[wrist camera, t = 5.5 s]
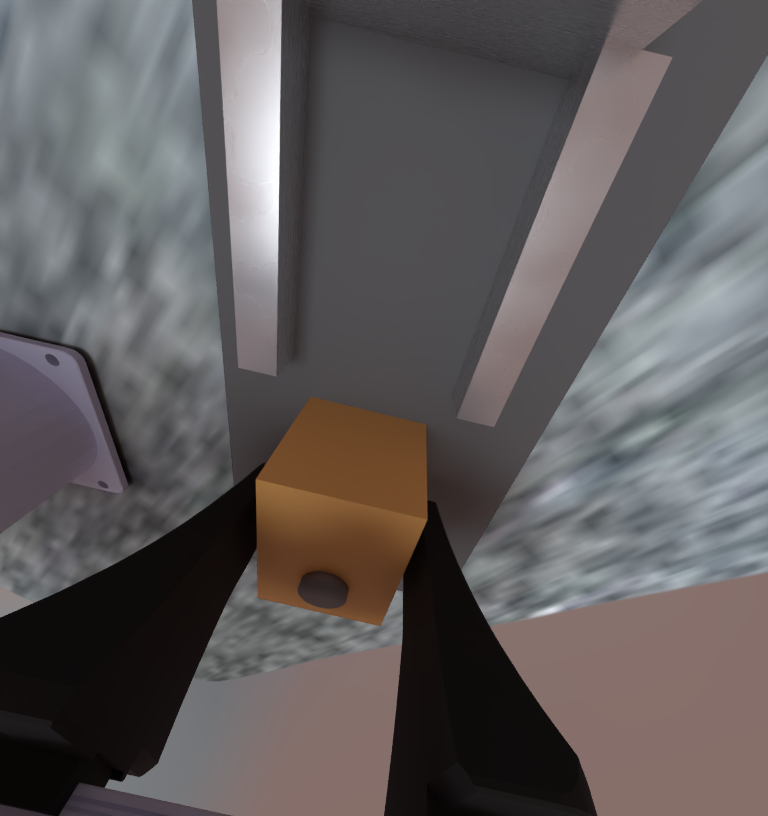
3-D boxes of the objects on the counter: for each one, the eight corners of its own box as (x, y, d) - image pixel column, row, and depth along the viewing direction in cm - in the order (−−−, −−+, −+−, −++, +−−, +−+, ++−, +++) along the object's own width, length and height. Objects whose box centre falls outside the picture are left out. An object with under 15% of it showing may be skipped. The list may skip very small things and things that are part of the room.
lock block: (300, 502, 15) (254, 606, 11) (310, 396, 11) (250, 487, 7) (391, 523, 15) (379, 635, 11) (426, 424, 12) (427, 529, 8)
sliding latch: (261, 349, 11) (191, 403, 7) (253, -287, 5) (-76, -1282, 2) (485, 401, 11) (511, 476, 8) (735, -167, 5) (1312, -896, 2)
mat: (245, 545, 18) (239, 554, 17) (158, -704, 4) (120, -840, 3) (442, 589, 18) (443, 600, 18) (1049, -470, 4) (1139, -571, 4)
